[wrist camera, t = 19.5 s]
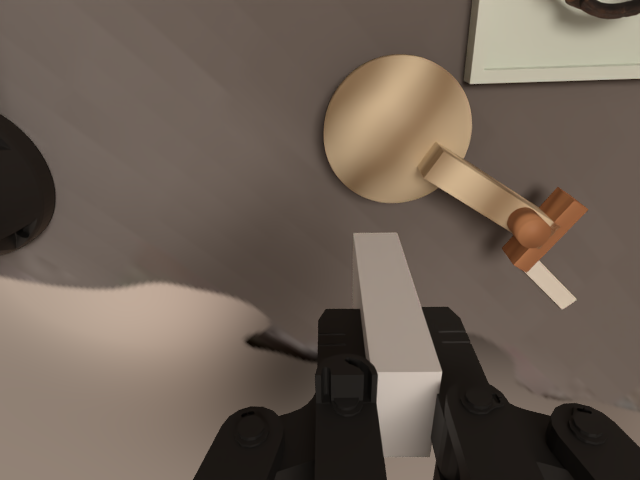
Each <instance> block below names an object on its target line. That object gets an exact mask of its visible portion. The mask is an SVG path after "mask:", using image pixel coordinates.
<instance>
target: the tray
mask: <svg viewBox="0 0 640 480" xmlns="http://www.w3.org/2000/svg"><path fill="white" fill-rule="evenodd" d="M598 1H600V2H603V3H622V2H626V1H631V0H598ZM611 79H640V14H638V15H635V16H630V17H622V18H619V19H602V18H598V17H595V16H591V15H589V14H587V13H586V12H584V11H582V10H581V9H577V8H575V7H572V6H570V5H568V4H567V3H566V2H565V0H472V7H471V16H470V25H469V35H468V44H467V53H466V62H465V72H464V81H465V82H467V83H469V84H487V83H518V82H549V81H580V80H611Z"/></svg>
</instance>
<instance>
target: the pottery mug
mask: <svg viewBox="0 0 640 480" xmlns="http://www.w3.org/2000/svg"><path fill="white" fill-rule="evenodd" d="M565 2H566V3H567V4H568V5H570V6H572V7H575V8H577V9H581V10H582V11H584V12H586V13H587V14H589V15H591V16H595V17H598V18H602V19H619V18H622V17H630V16H635V15H638V14H640V0H631V1H626V2H622V3H603V2H600V1H598V0H565Z"/></svg>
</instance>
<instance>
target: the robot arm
mask: <svg viewBox="0 0 640 480" xmlns="http://www.w3.org/2000/svg"><path fill="white" fill-rule="evenodd" d="M54 205H55V191H54V185H53V181H52V177H51V174H50V171H49V169H48V167H47V165H46V163H45V161H44V159H43V157H42V156H41V154H40V152H39V151H38V149H37V148H36V147H35V145H34V144H33V143H32V142H31V141H30V139H29V138H28V137H27V136H26V135H25V134H24V133H23V132H22V131H21V130H20V129H19V128H18V127H16V126H15V125H14V124H13V123H12V122H10V121H9V120H7V119H6V118H5V117H3V116H2V115H0V255H4V254H7V253H10V252H13V251H15V250H17V249H19V248H21V247H23V246H24V245H26V244H27V243H28V242H30V241H31V240H32V239H34V238H35V237H36V236H38V235H39V234H40V233H41V232H42V231H43V230H44V229H45V228H46V226H47V225H48V223H49V221H50V219H51V217H52V214H53V211H54ZM352 302H353V309H326V310H325V311H324V313H323V314H322V316H321V317H320V319H319V320H318V367H317V371H316V374H315V386H316V387H315V388H316V393H315V395H314V397H313V398H312V400H311V401H310V402H309V403H308V404H307V405H305V406H304V407H302V408H301V409H299V410H296V411H294V412H291V413H288V414H284V415H281V416H278V415H277V414H276V413H275V412H274V411H272V410H270V409H267V408H264V407H248V408H244V409H241V410H239V411H237V412H235V413H234V414H232V415H231V416H229V417H228V419H227V420H226V421H225V423H224V424H223V425H222V426H221V428H220V430H219V432H218V434H217V436H216V438H215V439H214V441H213V443H212V445H211V447H210V449H209V451H208V453H207V454H206V456H205V458H204V460H203V462H202V464H201V466H200V468H199V470H198V471H197V473H196V475H195V477H194V479H193V480H387V477H386V470H385V463H384V457H430V452H431V445H433V449H434V453H435V457H436V465H435V471H434V478H433V480H640V447H639V446H638V445H637V444H636V443H635V442H633V440H632V439H631V438H630V437H629V436H628V435H627V434H626V433H625V432H624V431H623V430H622V429H621V428H620V427H619V426H618V425H617V424H616V423H615V422H614V421H612V420H611V419H610V418H608V417H607V416H606V415H605V414H603V413H602V412H600V411H598V410H595V409H594V408H591V407H589V406H585V405H581V404H577V403H569V404H562V405H560V406H558V407H556V408H555V409H554V411H553V413H552V414H551V416H549V415H545V414H541V413H536V412H533V411H529V410H525V409H521V408H519V407H516V406H514V405H512V404H510V403H509V402H508V401H507V399H506V398H505V396H504V395H503V394H502V393H501V392H500V391H499V390H497V389H496V388H495V387H493V386H492V385H489V383H488V381H487V379H486V376H485V375H484V372H483V370H482V367H481V365H480V363H479V360H478V358H477V356H476V354H475V351H474V349H473V347H472V345H471V344H470V340H469V337H468V335H467V333H466V332H465V328H464V326H463V324H462V321H461V319H460V318H459V317H458V316H457V315H456V314H455V313H454V312H453V311H452V310H451V309H450V308H449V307H421V305H420V302H419V298H418V295H417V292H416V289H415V286H414V283H413V280H412V277H411V274H410V271H409V268H408V265H407V261H406V258H405V255H404V252H403V249H402V246H401V243H400V240H399V237H398V234H397V233H353V281H352Z"/></svg>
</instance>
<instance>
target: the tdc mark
mask: <svg viewBox="0 0 640 480" xmlns="http://www.w3.org/2000/svg"><path fill="white" fill-rule="evenodd" d="M524 272H525V271H524ZM525 273H526V272H525ZM526 274H527V275H528V276H529V277H530V278H531V279H532V280H533V281H534V282H535V283H536V284H537V285H538V286H539V287H540V288H541V289H542V290H543V291H544V292H545V293H546V294H547V295H548V296H549V297H550V298H551V299H552V300H553V301H554V302H555V303H556V304H557V305H558V306H559V307H560V308H561V309H564V308H565V307H567V306H568V305H570V304H571V303H573V302H574V301H576V300H577V299H576V298H575V297H574V296H573V295H572V294H571V293H570V292H569V291H568V290H567V289H566V288H565V287H564V286H563V285H562V284H561V283H560V282H559V281H558V279H557V278H556V277H555V276H554V275H553V274H552V273H551V272H550V271H549V270H548V269H547V268H546V267H545V266H544V265H543V264H542V263H541V262H540V261H538V262H537V263H536V264H535V265H534V266H533V267H532V268H531V269H530V270H529V271H528V272H527V273H526Z"/></svg>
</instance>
